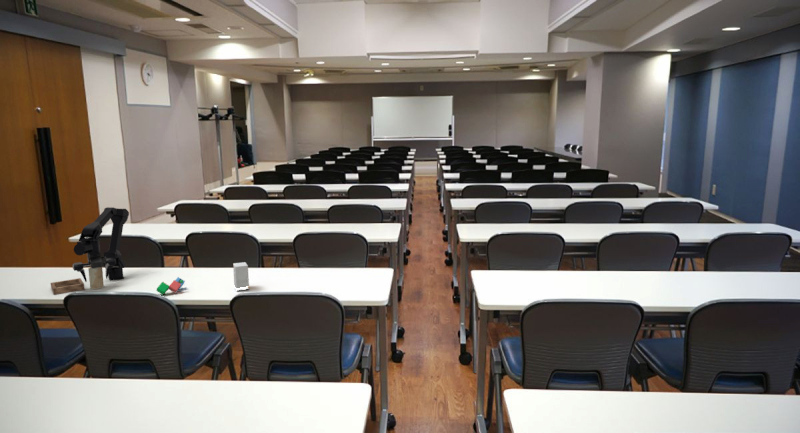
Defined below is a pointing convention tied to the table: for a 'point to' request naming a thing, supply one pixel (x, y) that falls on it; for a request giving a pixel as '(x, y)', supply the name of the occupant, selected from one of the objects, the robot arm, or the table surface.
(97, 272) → the box
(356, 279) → the table surface
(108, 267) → the robot arm
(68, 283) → the brown square frame
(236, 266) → the small box
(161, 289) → the building blocks
